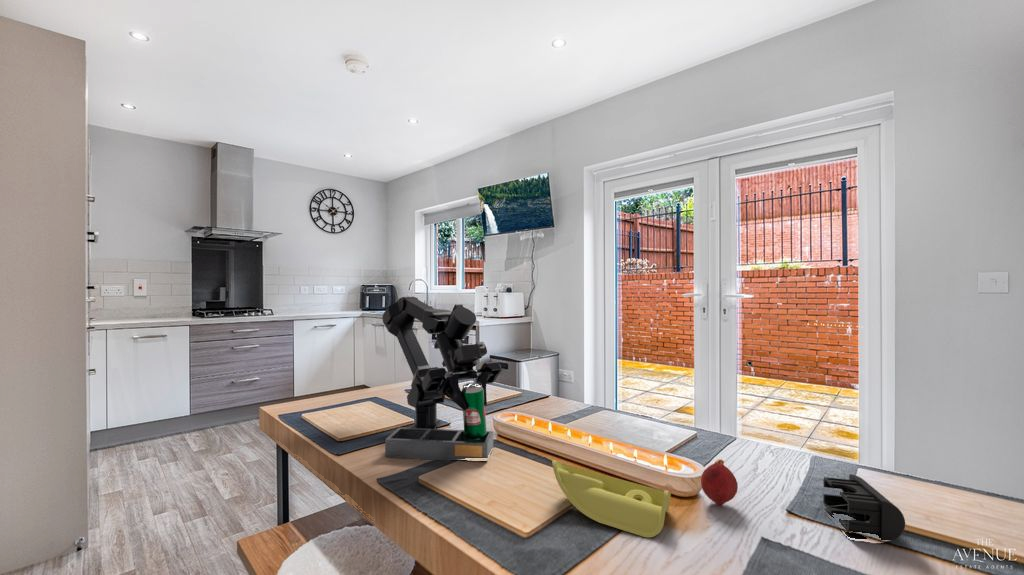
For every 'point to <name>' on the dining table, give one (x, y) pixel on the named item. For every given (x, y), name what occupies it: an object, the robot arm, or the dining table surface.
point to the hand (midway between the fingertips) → (475, 407)
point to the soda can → (474, 411)
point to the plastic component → (614, 500)
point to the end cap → (863, 509)
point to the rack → (436, 444)
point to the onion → (719, 483)
